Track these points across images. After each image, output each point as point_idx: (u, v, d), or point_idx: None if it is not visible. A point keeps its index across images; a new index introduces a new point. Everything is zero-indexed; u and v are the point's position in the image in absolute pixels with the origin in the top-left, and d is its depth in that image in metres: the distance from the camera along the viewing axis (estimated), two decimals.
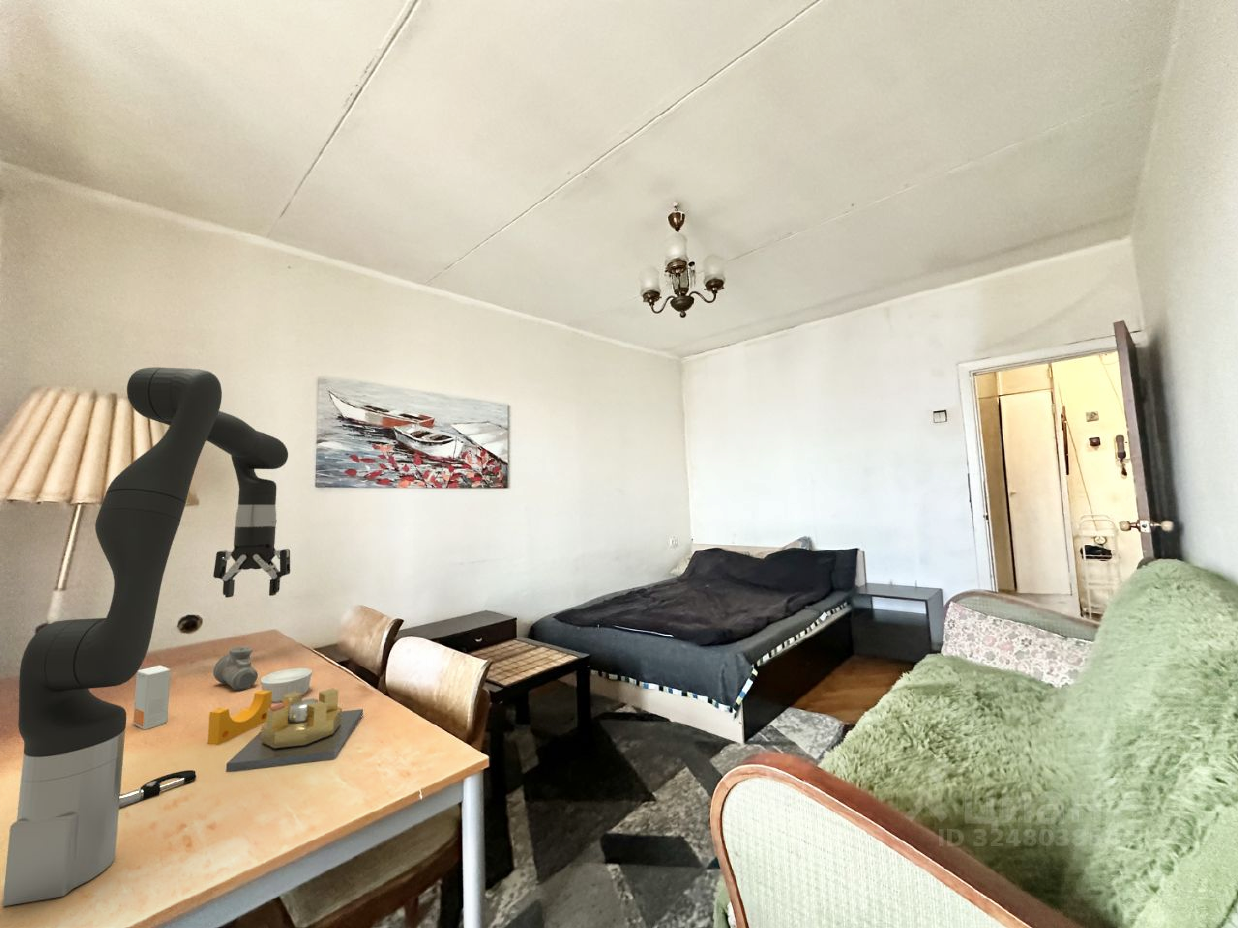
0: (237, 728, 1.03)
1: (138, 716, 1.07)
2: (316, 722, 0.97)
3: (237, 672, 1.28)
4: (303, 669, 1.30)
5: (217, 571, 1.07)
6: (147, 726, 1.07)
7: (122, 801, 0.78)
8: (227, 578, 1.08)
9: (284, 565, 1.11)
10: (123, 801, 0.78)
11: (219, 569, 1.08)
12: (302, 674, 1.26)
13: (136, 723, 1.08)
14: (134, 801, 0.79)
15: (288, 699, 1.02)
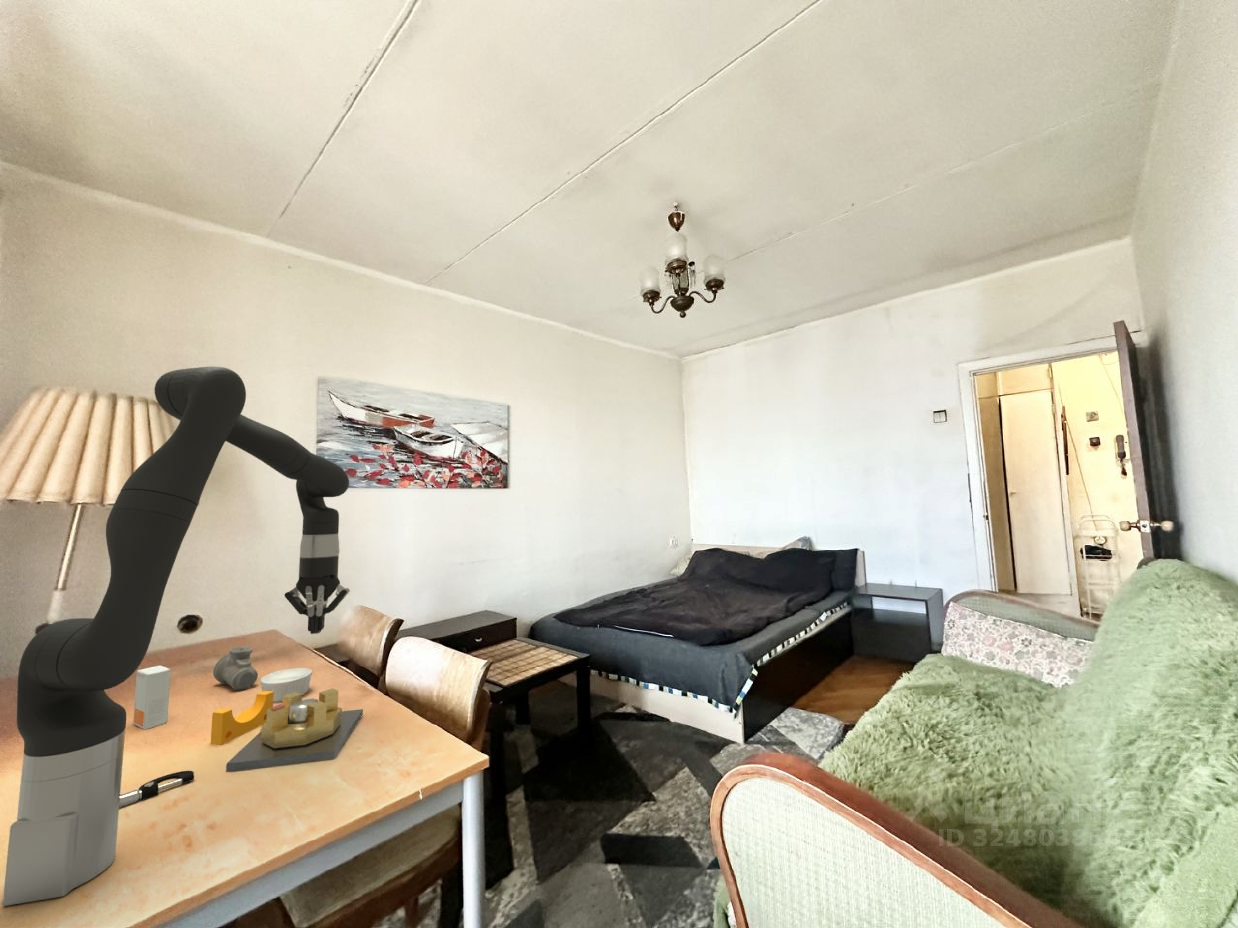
0: (240, 729, 1.03)
1: (138, 716, 1.07)
2: (316, 722, 0.97)
3: (237, 672, 1.28)
4: (303, 669, 1.30)
5: (299, 608, 1.06)
6: (147, 726, 1.07)
7: (120, 802, 0.78)
8: (312, 614, 1.06)
9: (334, 604, 1.08)
10: (121, 802, 0.78)
11: (299, 605, 1.06)
12: (302, 674, 1.26)
13: (136, 723, 1.08)
14: (132, 802, 0.79)
15: (288, 699, 1.02)
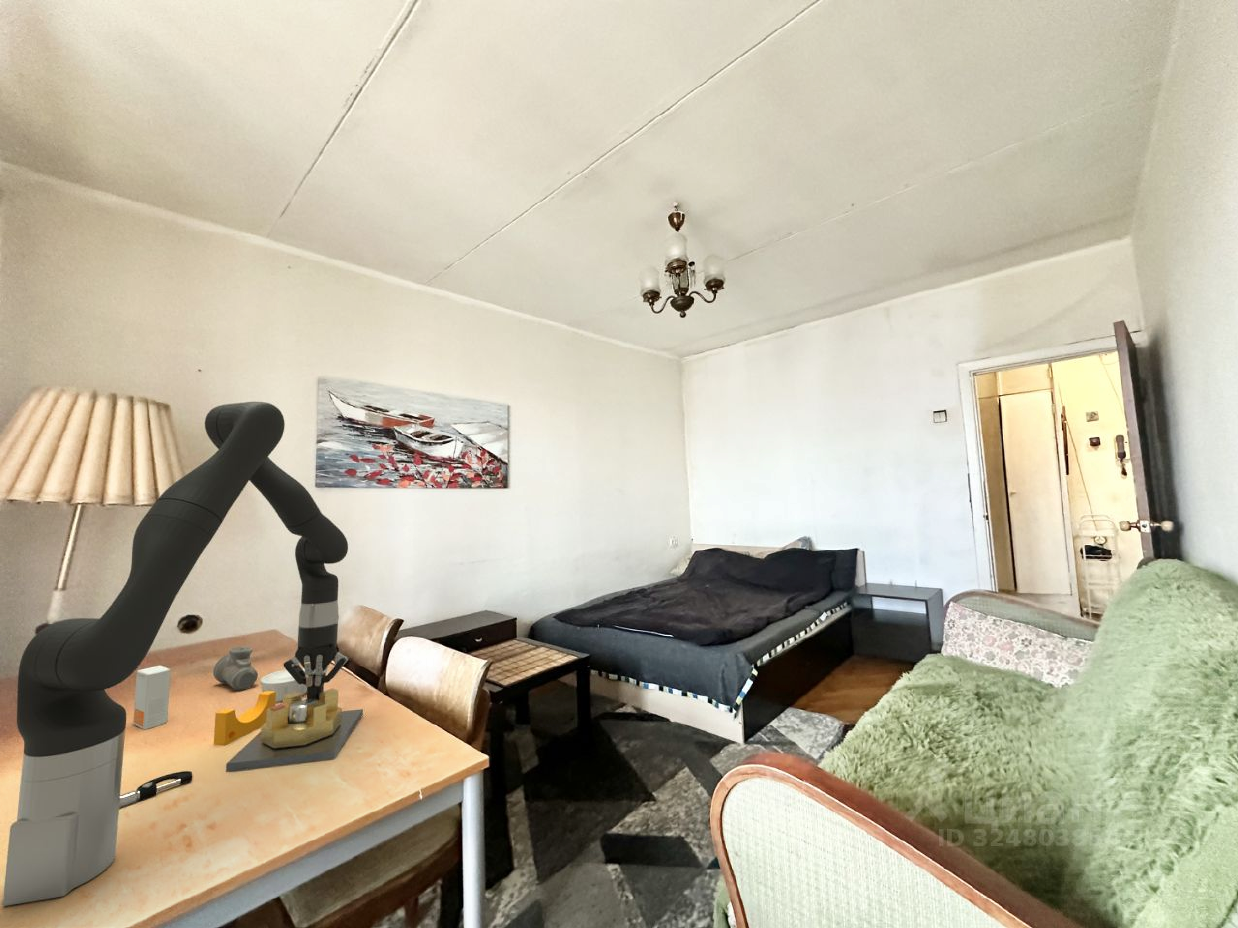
0: (243, 729, 1.03)
1: (138, 716, 1.07)
2: (316, 722, 0.97)
3: (236, 672, 1.28)
4: (303, 669, 1.30)
5: (298, 678, 1.05)
6: (147, 726, 1.07)
7: None
8: (311, 684, 1.05)
9: (333, 673, 1.06)
10: (119, 802, 0.78)
11: (298, 675, 1.05)
12: None
13: (136, 723, 1.08)
14: (130, 802, 0.79)
15: (288, 699, 1.02)
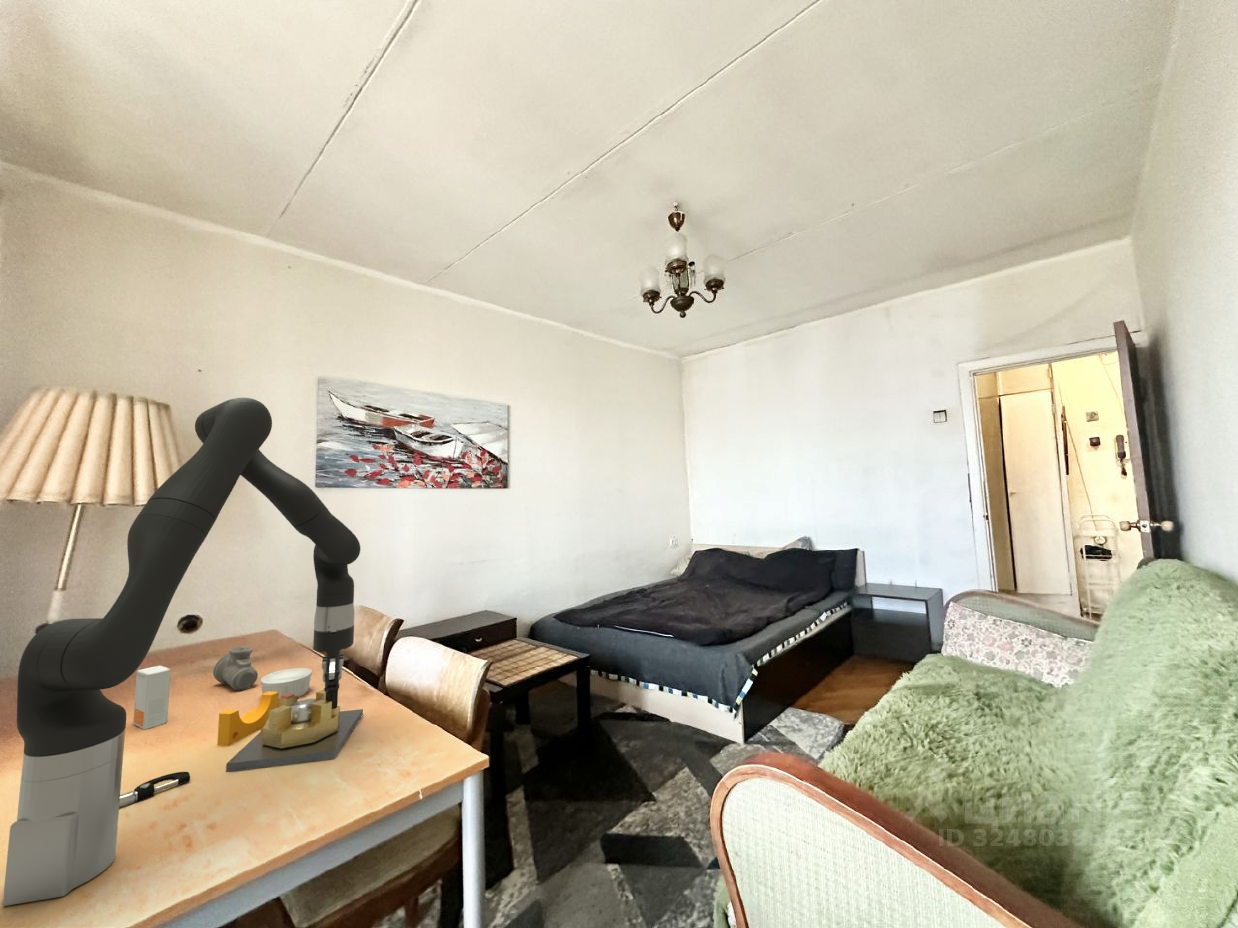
0: (246, 729, 1.03)
1: (138, 716, 1.07)
2: (270, 727, 0.95)
3: (236, 672, 1.28)
4: (303, 669, 1.30)
5: None
6: (147, 726, 1.07)
7: None
8: None
9: (325, 685, 0.99)
10: None
11: None
12: (302, 674, 1.26)
13: (136, 723, 1.08)
14: (128, 803, 0.79)
15: None
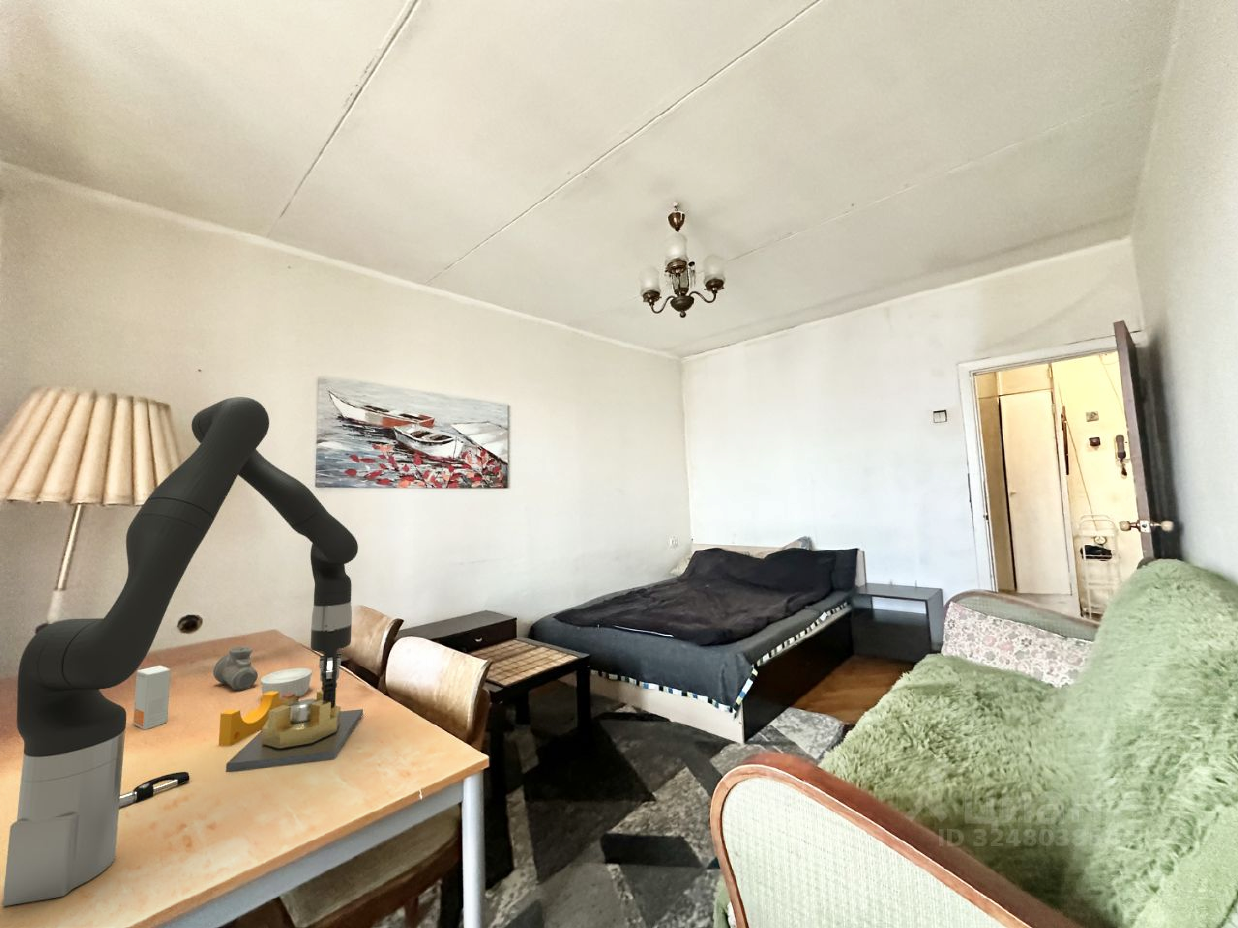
0: (248, 729, 1.03)
1: (138, 716, 1.07)
2: (269, 726, 0.95)
3: (236, 672, 1.28)
4: (303, 669, 1.30)
5: None
6: (147, 726, 1.07)
7: None
8: None
9: (322, 684, 0.99)
10: None
11: None
12: (302, 674, 1.26)
13: (136, 723, 1.08)
14: (127, 803, 0.79)
15: None
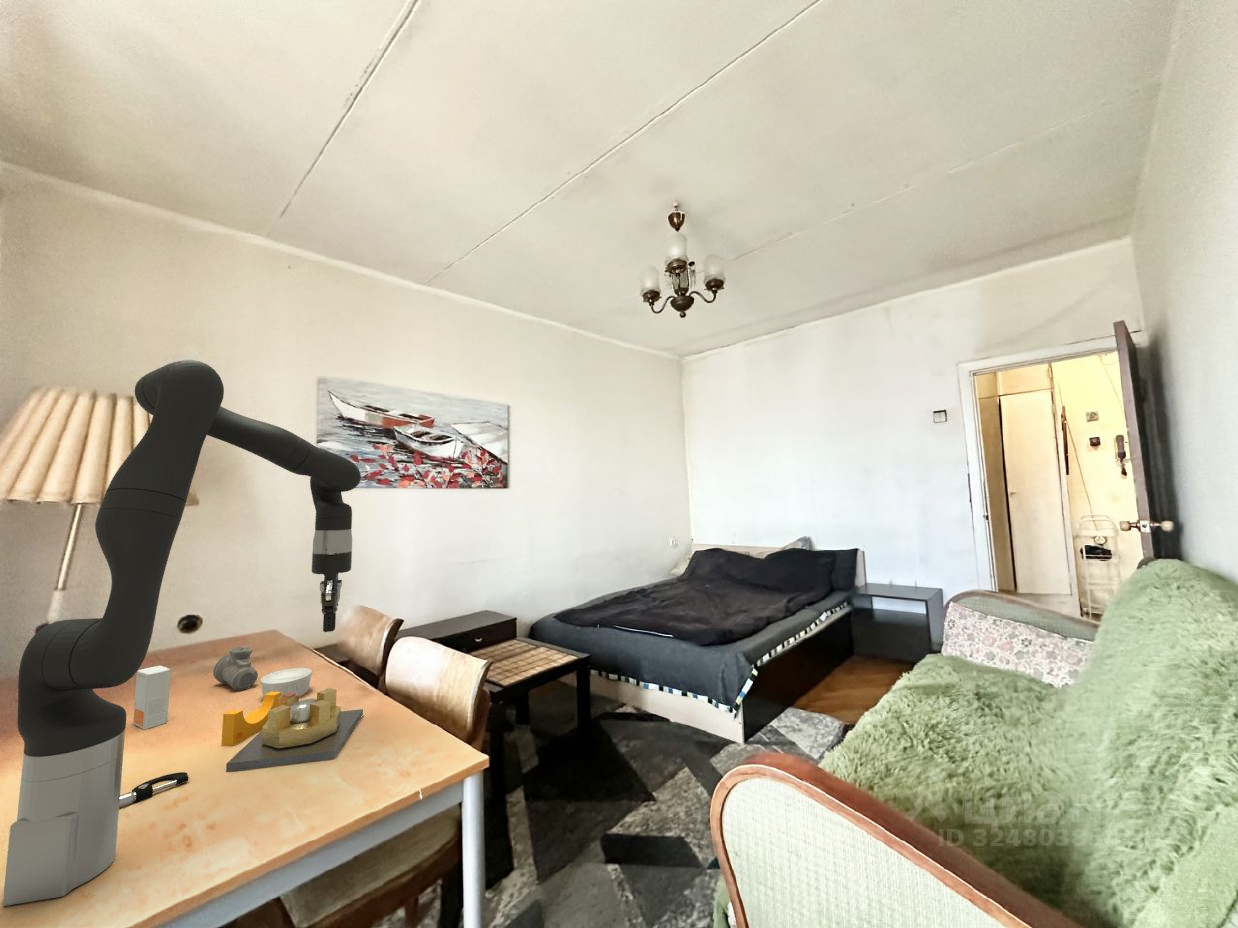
0: (250, 730, 1.03)
1: (138, 716, 1.07)
2: (269, 726, 0.95)
3: (237, 672, 1.28)
4: (303, 669, 1.30)
5: None
6: (147, 726, 1.07)
7: None
8: None
9: (322, 605, 1.01)
10: None
11: None
12: (302, 674, 1.26)
13: (136, 723, 1.08)
14: (126, 804, 0.79)
15: None
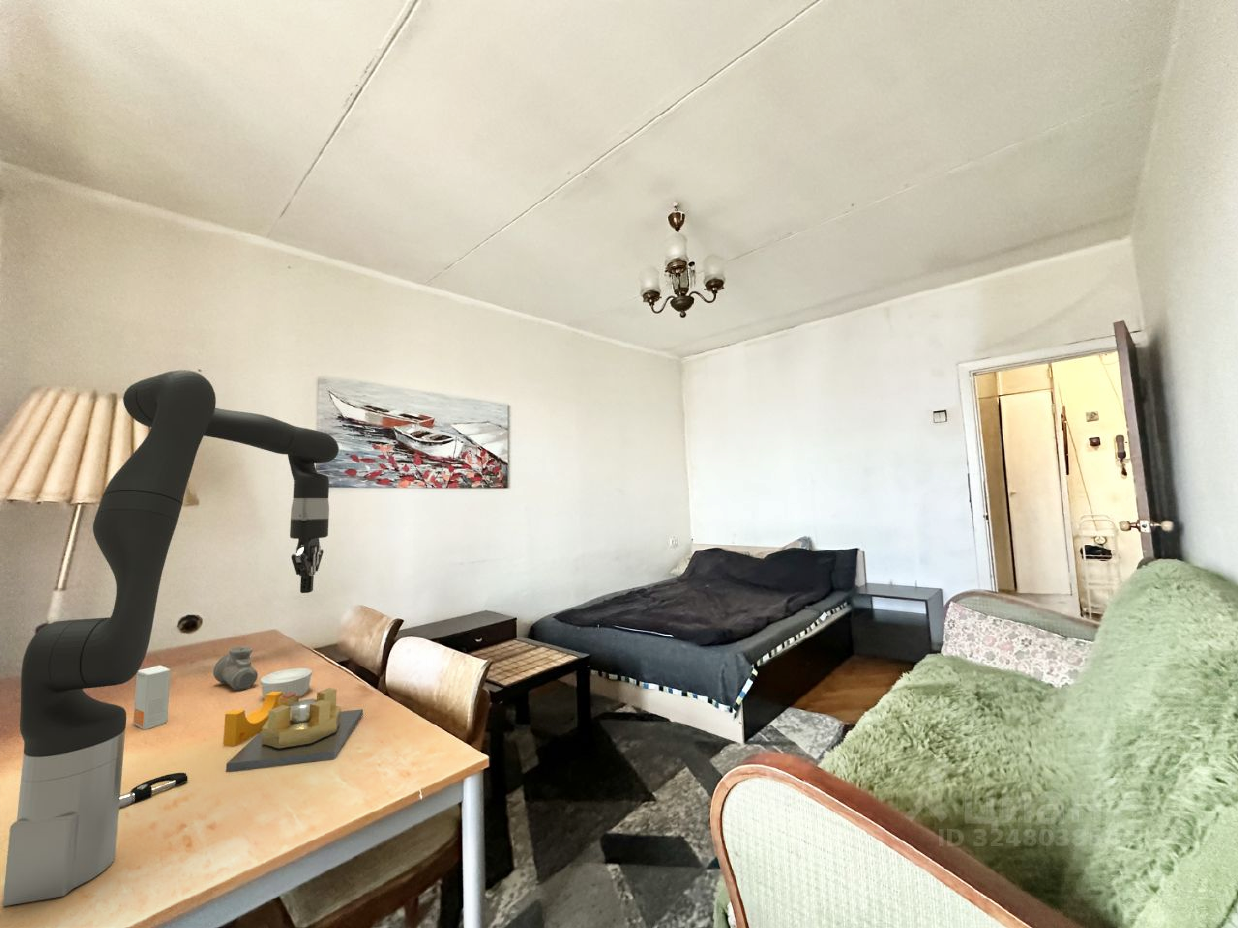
0: (252, 730, 1.03)
1: (138, 716, 1.07)
2: (269, 726, 0.95)
3: (236, 672, 1.28)
4: (303, 669, 1.30)
5: None
6: (147, 726, 1.07)
7: None
8: None
9: None
10: None
11: None
12: (302, 674, 1.26)
13: (136, 723, 1.08)
14: (125, 804, 0.79)
15: None
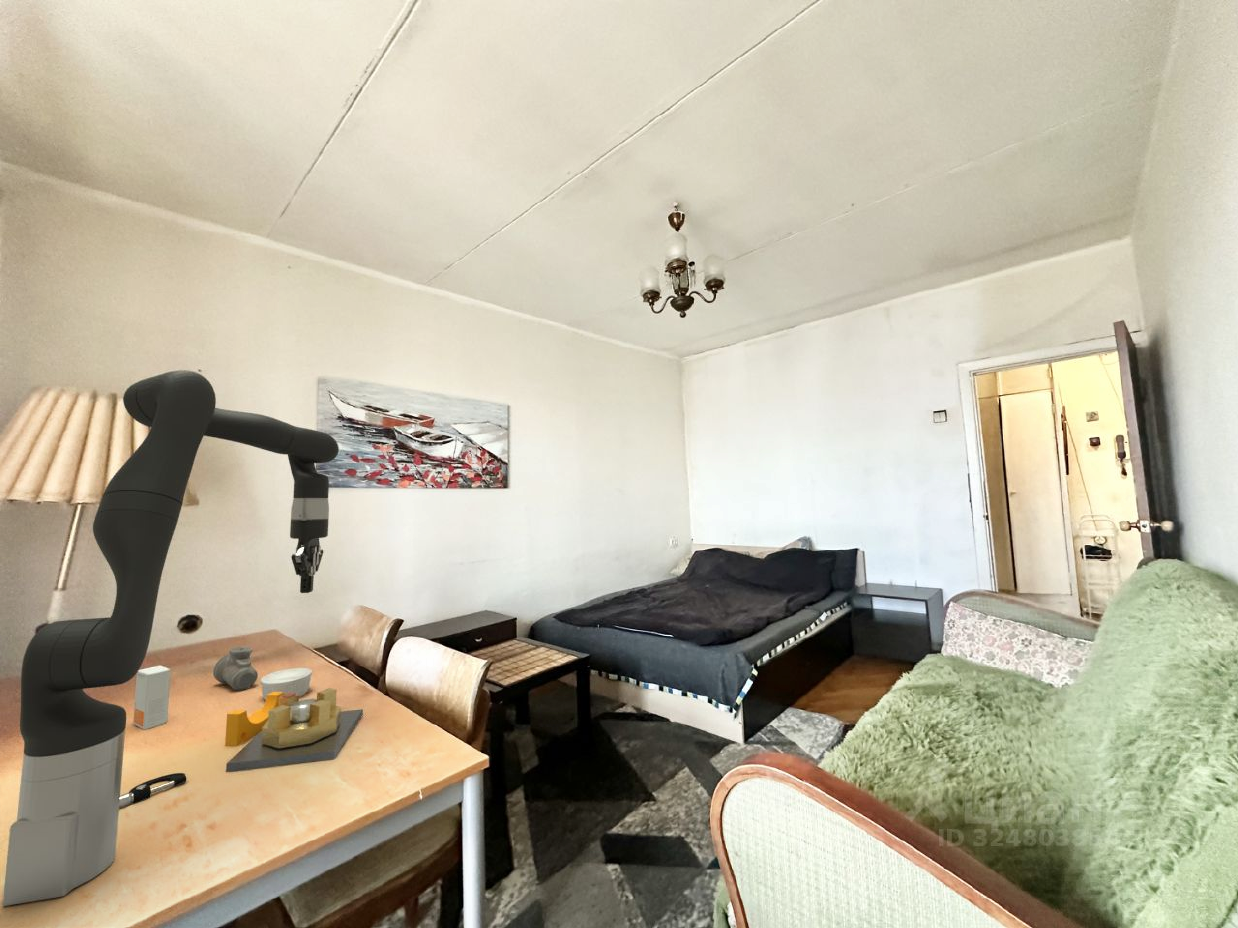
0: (253, 730, 1.03)
1: (138, 716, 1.07)
2: (269, 726, 0.95)
3: (236, 672, 1.28)
4: (303, 669, 1.30)
5: None
6: (147, 726, 1.07)
7: None
8: None
9: None
10: None
11: None
12: (302, 674, 1.26)
13: (136, 723, 1.08)
14: (124, 805, 0.78)
15: None
